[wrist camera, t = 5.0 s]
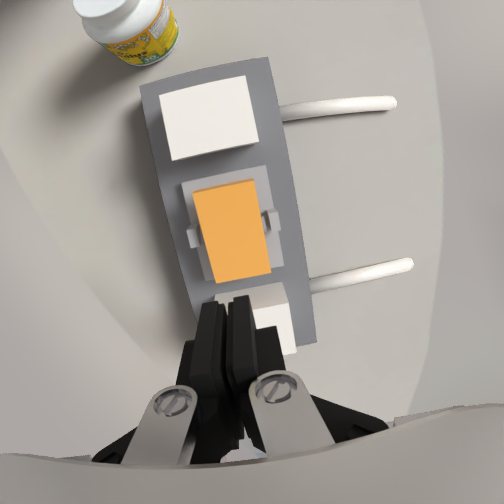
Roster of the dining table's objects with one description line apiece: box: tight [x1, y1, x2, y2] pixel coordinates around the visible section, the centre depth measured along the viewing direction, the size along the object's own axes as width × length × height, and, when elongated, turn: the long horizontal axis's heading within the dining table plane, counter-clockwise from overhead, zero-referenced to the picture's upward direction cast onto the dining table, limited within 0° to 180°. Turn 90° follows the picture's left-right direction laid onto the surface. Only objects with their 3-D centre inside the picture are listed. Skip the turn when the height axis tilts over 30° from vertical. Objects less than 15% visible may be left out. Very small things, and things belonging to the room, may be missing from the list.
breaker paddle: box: [192, 178, 271, 283], centre depth 20 cm, size 6×4×1 cm, turn 11°
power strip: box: [139, 57, 413, 355], centre depth 22 cm, size 22×19×6 cm
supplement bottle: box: [73, 0, 179, 66], centre depth 16 cm, size 5×5×10 cm
